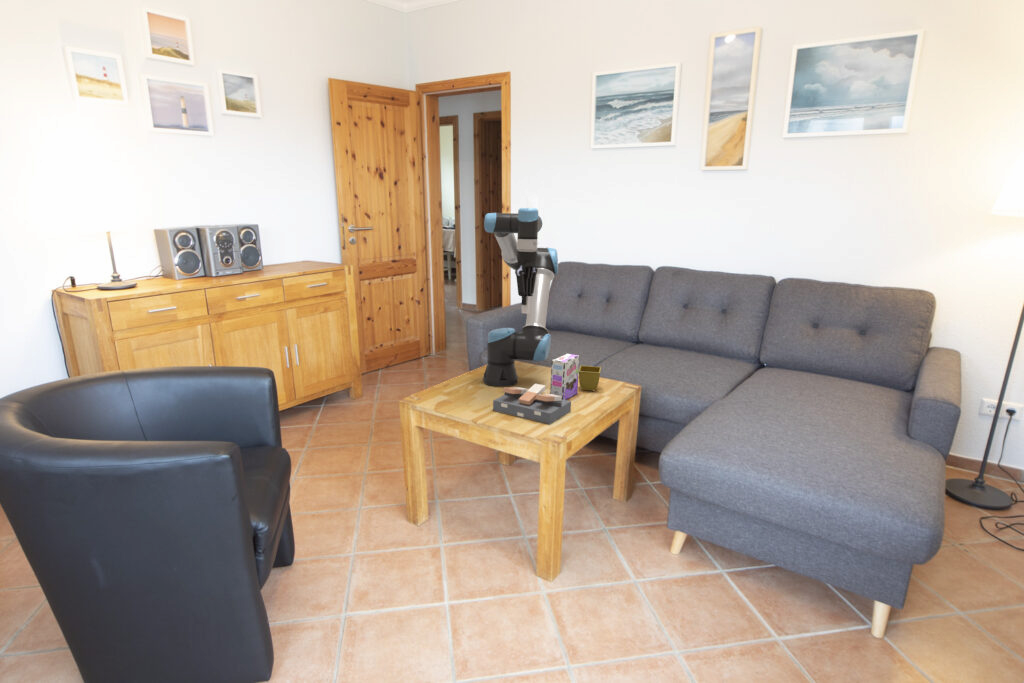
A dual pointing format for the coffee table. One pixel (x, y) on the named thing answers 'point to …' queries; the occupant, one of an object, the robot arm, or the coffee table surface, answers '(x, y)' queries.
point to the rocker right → (548, 397)
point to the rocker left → (515, 390)
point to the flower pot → (589, 377)
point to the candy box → (565, 376)
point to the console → (532, 408)
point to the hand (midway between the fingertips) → (525, 313)
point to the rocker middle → (531, 394)
